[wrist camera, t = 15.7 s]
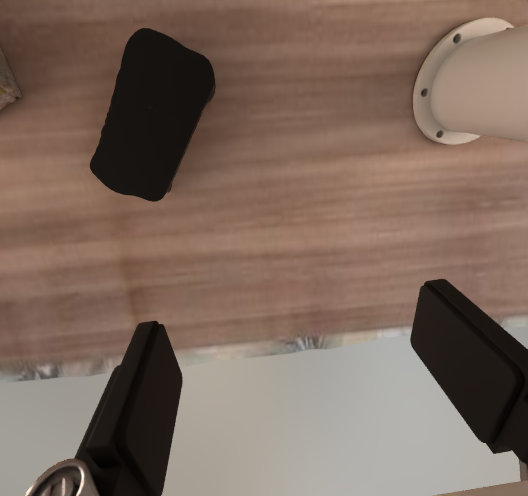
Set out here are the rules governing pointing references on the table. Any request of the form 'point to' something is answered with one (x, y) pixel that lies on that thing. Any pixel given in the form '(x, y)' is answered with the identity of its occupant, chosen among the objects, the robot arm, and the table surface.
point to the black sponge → (152, 115)
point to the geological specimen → (7, 83)
